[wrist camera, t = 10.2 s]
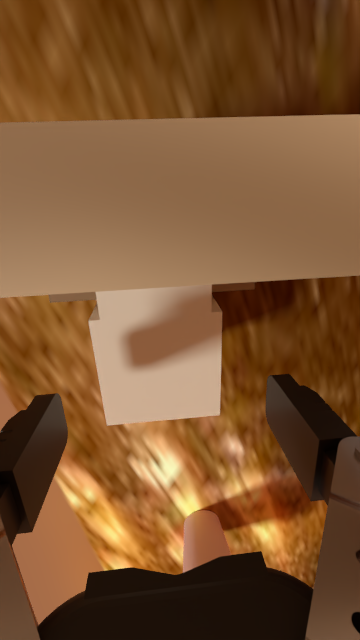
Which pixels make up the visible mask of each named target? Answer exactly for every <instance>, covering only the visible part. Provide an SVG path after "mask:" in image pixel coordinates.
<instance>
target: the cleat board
mask: <svg viewBox="0 0 360 640" xmlns="http://www.w3.org/2000/svg"><path fill="white" fill-rule="evenodd" d="M357 275H360V114H350V115H307V116H265V117H223V118H181V119H139V120H97V121H55V122H13V123H0V298H3V297H19V296H35V295H49V299H50V302H65V301H81V300H97V299H96V292H100V291H116V290H132V289H148V288H164V287H180V286H196V285H212V292H222V291H237V290H253V289H255V282H261V281H277V280H293V279H309V278H325V277H341V276H357Z"/></svg>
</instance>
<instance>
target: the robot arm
mask: <svg viewBox="0 0 360 640" xmlns="http://www.w3.org/2000/svg"><path fill="white" fill-rule="evenodd" d="M266 417H267V421H268V424H269V426H270V428H271V430H272V432H273V434H274V435H275V437H276V439H277V441H278V443H279V444H280V446H281V448H282V450H283V452H284V453H285V455H286V457H287V459H288V461H289V463H290V464H291V466H292V468H293V470H294V472H295V473H296V475H297V477H298V479H299V481H300V482H301V484H302V486H303V488H304V490H305V492H306V493H307V495H308V497H309V499H310V501H317V500H325V502H326V504H327V505H328V508H327V514H326V520H325V526H324V532H323V538H322V543H321V549H320V555H319V561H318V567H317V573H316V578H315V584H314V589H312V588H311V587H309V586H308V585H307V584H305V583H304V582H302V581H300V580H299V579H297V578H295V577H293V576H291V575H289V574H287V573H285V572H282V571H279V570H276V569H272V568H267V567H266V565H265V562H264V558H263V555H262V552H261V551H260V552H252V553H244V554H236V555H228V556H220V557H218V558H216V559H213V560H211V561H209V562H207V563H204V564H202V565H200V566H198V567H195V568H193V569H191V570H189V571H186V572H184V573H182V574H179V575H171V574H166V573H160V572H155V571H149V570H143V569H138V568H124V569H116V570H108V571H100V572H92V573H89V574H88V579H87V584H86V590H85V591H84V592H81V593H79V594H77V595H76V596H74V597H72V598H70V599H69V600H67V601H66V602H65V603H63V604H62V605H60V606H59V607H58V608H57V609H55V610H54V611H53V612H52V613H51V614H50V615H49V616H48V617H46V618H45V619H44V620H43V621H42V622H41V623H40V624H39V625H38V622H37V619H36V617H35V614H34V611H33V608H32V605H31V602H30V599H29V596H28V593H27V590H26V587H25V584H24V581H23V578H22V575H21V572H20V569H19V566H18V563H17V560H16V557H15V554H14V551H13V548H12V544H13V541H14V539H15V537H16V535H17V534H20V533H28V532H32V531H33V528H34V525H35V523H36V520H37V518H38V515H39V513H40V510H41V508H42V505H43V502H44V500H45V497H46V495H47V492H48V489H49V487H50V484H51V482H52V479H53V477H54V474H55V472H56V469H57V467H58V464H59V461H60V459H61V456H62V454H63V451H64V449H65V446H66V443H67V436H68V431H67V424H66V420H65V415H64V410H63V406H62V401H61V397H60V395H59V394H46V395H37V396H35V398H34V399H33V400H32V402H31V403H30V405H29V406H28V408H27V409H26V410H21V411H20V412H18V413H17V414H16V415H15V416H13V417H12V418H11V419H10V420H8V422H7V423H6V424H5V426H4V427H3V428H2V430H1V433H0V640H360V437H357V436H356V434H355V433H354V432H353V431H352V430H351V429H350V428H349V427H348V426H347V425H346V424H345V423H344V422H343V420H342V419H341V418H340V417H339V416H338V415H337V414H336V413H335V412H334V411H332V409H331V408H330V406H329V405H328V404H327V403H325V401H324V400H323V399H322V398H321V397H320V396H319V395H318V393H316V392H315V391H313V390H311V389H310V388H308V387H306V386H299V385H298V383H297V382H296V381H295V380H294V379H293V378H292V376H291V375H289V374H282V375H270V376H269V377H268V380H267V395H266Z"/></svg>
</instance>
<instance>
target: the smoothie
mask: <svg viewBox="0 0 360 640" xmlns="http://www.w3.org/2000/svg"><path fill="white" fill-rule="evenodd" d="M228 555H231V552H230V549H229V547H228V544H227V541H226V538H225V535H224V532H223V530H222V527H221V524H220V521H219V518H218V516H217V515H216V514H215V513H213V512H211V511H208V510H200V511H196V512H194V513H192V514H190V515H189V516H188V517H187V518H186V520H185V522H184V552H183V573H184V572H186V571H189V570H191V569H193V568H195V567H198V566H200V565H202V564H204V563H207V562H209V561H211V560H213V559H216V558H218V557H220V556H228Z"/></svg>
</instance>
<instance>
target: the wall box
mask: <svg viewBox="0 0 360 640" xmlns="http://www.w3.org/2000/svg"><path fill="white" fill-rule="evenodd" d="M96 299H97V304H96V306H95V309H94V311H93V313H92V315H91V317H90V319H89V327H90V332H91V338H92V344H93V349H94V355H95V361H96V366H97V372H98V378H99V383H100V389H101V395H102V400H103V406H104V412H105V417H106V423H107V425H117V424H128V423H139V422H150V421H160V420H171V419H182V418H193V417H204V416H215V415H220V388H221V346H222V310H221V309H220V307H219V305H218V304H217V302H216V300H215V299H214V297H213V295H212V285H196V286H180V287H164V288H148V289H132V290H116V291H100V292H96Z"/></svg>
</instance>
